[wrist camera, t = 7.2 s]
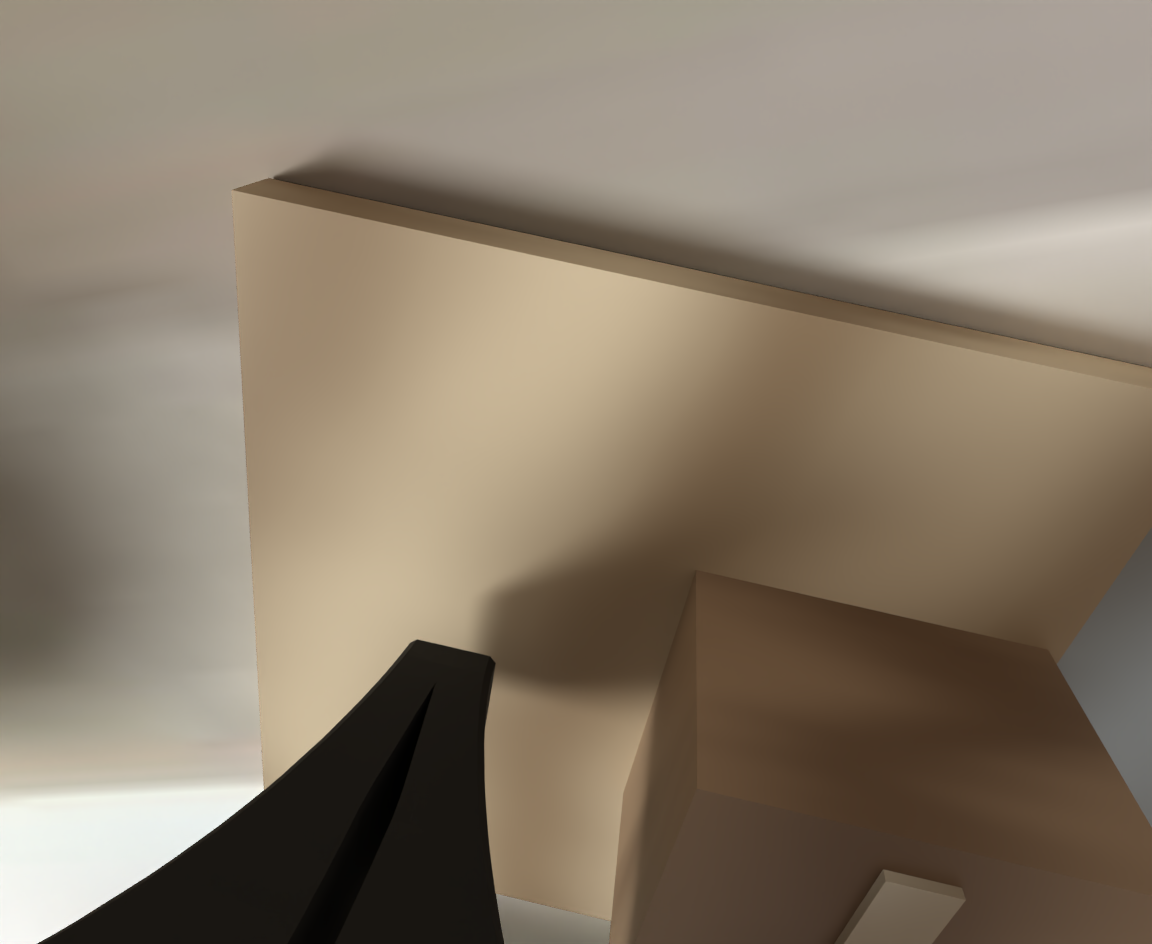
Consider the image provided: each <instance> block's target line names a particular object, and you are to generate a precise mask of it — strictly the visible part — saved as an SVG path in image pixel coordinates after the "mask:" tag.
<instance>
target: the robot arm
mask: <svg viewBox="0 0 1152 944" xmlns="http://www.w3.org/2000/svg"><path fill="white" fill-rule="evenodd" d="M495 665H496V663H495V661H494V660H493V659H492V658H491V657H490V656H488V655H483V654H479V653H475V652H470V651H466V650H462V649H457V648H453V647H449V646H444V645H440V644H436V643H431V642H427V641H423V640H418V639H417V640H415V641H413V642H411V643H409V645H408V646H407V647H406V649H405V650H404V651H403V652H402V654H401V655H400V656H399V657H398V659H397V660H396V661H395V662H394V663H393V665H392V666H391V667H390V668H389V669H388V670H387V672H386V673H385V674H384V675H383V676H382V677H381V678H380V680H379V681H378V682H377V683H376V684H375V685H374V686H373V687H372V688H371V689H370V690H369V692H368V693H367V694H366V695H365V696H364V697H363V698H362V699H361V700H360V701H359V702H358V703H357V704H356V705H355V706H354V707H353V708H352V709H351V710H350V711H349V712H348V713H347V714H346V715H345V716H344V717H343V718H342V719H341V720H340V721H339V722H338V723H337V724H336V725H335V726H334V727H333V728H332V729H331V730H330V731H329V732H328V733H327V734H326V735H325V736H324V737H323V738H322V739H321V740H320V741H319V742H318V743H317V744H316V745H315V746H313V747H312V748H311V749H310V750H309V751H308V752H307V753H306V754H305V755H304V756H302V757H301V758H300V759H299V760H298V761H297V762H296V763H295V764H294V765H292V766H291V767H290V768H289V769H288V770H287V771H286V772H285V773H284V774H283V775H281V776H280V777H279V778H278V779H277V780H276V781H274V782H273V783H272V784H271V785H270V786H268V787H267V788H266V789H265V790H264V791H262V792H261V793H260V794H259V795H258V796H256V797H255V798H254V799H253V800H251V801H250V802H249V803H248V804H246V805H245V806H244V807H243V808H241V809H240V810H239V811H238V812H236V813H235V814H234V815H232V816H231V817H230V818H229V819H227V820H226V821H225V822H223V823H222V824H221V825H220V826H218V827H217V828H215V829H214V830H213V831H211V832H210V833H209V834H207V835H206V836H204V837H203V838H202V839H200V840H199V841H198V842H196V843H195V844H193V845H192V846H191V847H189V848H188V849H186V850H185V851H184V852H182V853H181V854H180V855H178V856H177V857H175V858H174V859H172V860H171V861H170V862H168V863H167V864H165V865H164V866H162V867H161V868H159V869H158V870H156V871H155V872H153V873H152V874H150V875H149V876H147V877H146V878H144V879H143V880H141V881H140V882H138V883H136V884H135V885H133V886H132V887H130V888H128V889H127V890H125V891H124V892H122V893H120V894H119V895H117V896H116V897H114V898H113V899H111V900H109V901H108V902H106V903H105V904H103V905H101V906H100V907H98V908H97V909H95V910H93V911H92V912H90V913H89V914H87V915H86V916H84V917H82V918H81V919H79V920H78V921H76V922H74V923H73V924H71V925H69V926H67V927H66V928H64V929H62V930H61V931H59V932H57V933H56V934H54V935H52V936H50V937H48V938H47V939H45V940H43V941H41V942H39V943H38V944H504V940H503V935H502V930H501V924H500V918H499V912H498V905H497V899H496V893H495V886H494V878H493V871H492V864H491V855H490V846H489V836H488V825H487V811H486V797H485V758H484V739H485V726H486V719H487V713H488V707H489V701H490V695H491V689H492V683H493V677H494V671H495Z"/></svg>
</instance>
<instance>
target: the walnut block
mask: <svg viewBox="0 0 1152 944" xmlns="http://www.w3.org/2000/svg"><path fill="white" fill-rule="evenodd" d="M609 944H1152V827H1151V825H1150V824H1149V822H1148V820H1147V819H1146V817H1145V815H1144V813H1143V812H1142V810H1141V808H1140V807H1139V805H1138V803H1137V801H1136V800H1135V798H1134V796H1133V795H1132V793H1131V791H1130V789H1129V788H1128V786H1127V784H1126V783H1125V781H1124V779H1123V777H1122V776H1121V774H1120V772H1119V771H1118V769H1117V767H1116V765H1115V764H1114V762H1113V760H1112V759H1111V757H1110V755H1109V753H1108V752H1107V750H1106V748H1105V747H1104V745H1103V743H1102V741H1101V740H1100V738H1099V736H1098V735H1097V733H1096V731H1095V729H1094V728H1093V726H1092V724H1091V723H1090V721H1089V719H1088V717H1087V716H1086V714H1085V712H1084V711H1083V709H1082V707H1081V705H1080V704H1079V702H1078V700H1077V699H1076V697H1075V695H1074V693H1073V692H1072V690H1071V688H1070V687H1069V685H1068V683H1067V681H1066V680H1065V678H1064V676H1063V675H1062V673H1061V671H1060V669H1059V668H1058V666H1057V664H1056V662H1055V661H1054V659H1053V657H1052V656H1051V654H1050V652H1049V650H1047V649H1043V648H1038V647H1034V646H1029V645H1025V644H1021V643H1016V642H1012V641H1007V640H1003V639H999V638H994V637H990V636H985V635H981V634H977V633H972V632H968V631H963V630H959V629H955V628H950V627H946V626H941V625H937V624H932V623H928V622H924V621H919V620H915V619H910V618H906V617H902V616H897V615H893V614H888V613H884V612H880V611H875V610H871V609H866V608H862V607H858V606H853V605H849V604H844V603H840V602H836V601H831V600H827V599H822V598H818V597H813V596H809V595H805V594H800V593H796V592H791V591H787V590H783V589H778V588H774V587H769V586H765V585H761V584H756V583H752V582H747V581H743V580H739V579H734V578H730V577H725V576H721V575H716V574H712V573H708V572H703V571H699V570H696V572H695V575H694V578H693V581H692V584H691V587H690V590H689V593H688V596H687V600H686V603H685V606H684V609H683V612H682V615H681V618H680V621H679V624H678V627H677V630H676V633H675V636H674V639H673V642H672V645H671V648H670V652H669V655H668V658H667V661H666V664H665V667H664V670H663V673H662V676H661V679H660V682H659V685H658V688H657V691H656V694H655V697H654V700H653V704H652V707H651V710H650V713H649V716H648V719H647V722H646V725H645V728H644V731H643V734H642V737H641V740H640V743H639V746H638V749H637V753H636V756H635V759H634V762H633V765H632V768H631V771H630V774H629V777H628V780H627V783H626V786H625V789H624V792H623V801H622V811H621V822H620V832H619V843H618V853H617V864H616V875H615V885H614V896H613V906H612V917H611V927H610V938H609Z"/></svg>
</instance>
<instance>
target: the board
mask: <svg viewBox="0 0 1152 944" xmlns="http://www.w3.org/2000/svg"><path fill="white" fill-rule="evenodd" d="M232 208H233V226H234V245H235V263H236V282H237V300H238V319H239V337H240V356H241V374H242V393H243V411H244V430H245V448H246V467H247V485H248V504H249V522H250V541H251V559H252V578H253V596H254V615H255V633H256V652H257V670H258V689H259V707H260V726H261V744H262V763H263V781H264V790H265V789H266V788H267V787H268V786H270V785H271V784H272V783H273V782H274V781H276V780H277V779H278V778H279V777H280V776H281V775H283V774H284V773H285V772H286V771H287V770H288V769H289V768H290V767H291V766H292V765H294V764H295V763H296V762H297V761H298V760H299V759H300V758H301V757H302V756H304V755H305V754H306V753H307V752H308V751H309V750H310V749H311V748H312V747H313V746H315V745H316V744H317V743H318V742H319V741H320V740H321V739H322V738H323V737H324V736H325V735H326V734H327V733H328V732H329V731H330V730H331V729H332V728H333V727H334V726H335V725H336V724H337V723H338V722H339V721H340V720H341V719H342V718H343V717H344V716H345V715H346V714H347V713H348V712H349V711H350V710H351V709H352V708H353V707H354V706H355V705H356V704H357V703H358V702H359V701H360V700H361V699H362V698H363V697H364V696H365V695H366V694H367V693H368V692H369V690H370V689H371V688H372V687H373V686H374V685H375V684H376V683H377V682H378V681H379V680H380V678H381V677H382V676H383V675H384V674H385V673H386V672H387V670H388V669H389V668H390V667H391V666H392V665H393V663H394V662H395V661H396V660H397V659H398V657H399V656H400V655H401V654H402V652H403V651H404V650H405V649H406V647H407V646H408V645H409V643H411V642H413V641H415V640H417V639H418V640H423V641H427V642H431V643H436V644H440V645H444V646H449V647H453V648H457V649H462V650H466V651H470V652H475V653H479V654H483V655H488V656H490V657H491V658H492V659H493V660H494V661H495V663H496V665H495V671H494V677H493V683H492V689H491V695H490V701H489V707H488V713H487V719H486V726H485V739H484V758H485V797H486V811H487V825H488V836H489V846H490V855H491V864H492V871H493V878H494V886H495V893H496V894H500V895H504V896H509V897H513V898H517V899H521V900H525V901H529V902H533V903H538V904H542V905H546V906H550V907H554V908H558V909H562V910H567V911H571V912H575V913H579V914H583V915H587V916H591V917H596V918H600V919H604V920H608V921H611V917H612V906H613V896H614V885H615V875H616V864H617V853H618V843H619V832H620V822H621V811H622V801H623V792H624V789H625V786H626V783H627V780H628V777H629V774H630V771H631V768H632V765H633V762H634V759H635V756H636V753H637V749H638V746H639V743H640V740H641V737H642V734H643V731H644V728H645V725H646V722H647V719H648V716H649V713H650V710H651V707H652V704H653V700H654V697H655V694H656V691H657V688H658V685H659V682H660V679H661V676H662V673H663V670H664V667H665V664H666V661H667V658H668V655H669V652H670V648H671V645H672V642H673V639H674V636H675V633H676V630H677V627H678V624H679V621H680V618H681V615H682V612H683V609H684V606H685V603H686V600H687V596H688V593H689V590H690V587H691V584H692V581H693V578H694V575H695V572H696V570H699V571H703V572H708V573H712V574H716V575H721V576H725V577H730V578H734V579H739V580H743V581H747V582H752V583H756V584H761V585H765V586H769V587H774V588H778V589H783V590H787V591H791V592H796V593H800V594H805V595H809V596H813V597H818V598H822V599H827V600H831V601H836V602H840V603H844V604H849V605H853V606H858V607H862V608H866V609H871V610H875V611H880V612H884V613H888V614H893V615H897V616H902V617H906V618H910V619H915V620H919V621H924V622H928V623H932V624H937V625H941V626H946V627H950V628H955V629H959V630H963V631H968V632H972V633H977V634H981V635H985V636H990V637H994V638H999V639H1003V640H1007V641H1012V642H1016V643H1021V644H1025V645H1029V646H1034V647H1038V648H1043V649H1047V650H1049V652H1050V654H1051V656H1052V657H1053V659H1054V661H1055V662H1056V664H1057V666H1058V668H1059V669H1060V671H1061V673H1062V675H1063V676H1064V678H1065V680H1066V681H1067V683H1068V685H1069V687H1070V688H1071V690H1072V692H1073V693H1074V695H1075V697H1076V699H1077V700H1078V702H1079V704H1080V705H1081V707H1082V709H1083V711H1084V712H1085V714H1086V716H1087V717H1088V719H1089V721H1090V723H1091V724H1092V726H1093V728H1094V729H1095V731H1096V733H1097V735H1098V736H1099V738H1100V740H1101V741H1102V743H1103V745H1104V747H1105V748H1106V750H1107V752H1108V753H1109V755H1110V757H1111V759H1112V760H1113V762H1114V764H1115V765H1116V767H1117V769H1118V771H1119V772H1120V774H1121V776H1122V777H1123V779H1124V781H1125V783H1126V784H1127V786H1128V788H1129V789H1130V791H1131V793H1132V795H1133V796H1134V798H1135V800H1136V801H1137V803H1138V805H1139V807H1140V808H1141V810H1142V812H1143V813H1144V815H1145V817H1146V819H1147V820H1148V822H1149V824H1150V825H1151V827H1152V368H1149V367H1144V366H1139V365H1135V364H1130V363H1126V362H1121V361H1116V360H1112V359H1107V358H1102V357H1098V356H1093V355H1088V354H1084V353H1079V352H1074V351H1070V350H1065V349H1060V348H1056V347H1051V346H1047V345H1042V344H1037V343H1033V342H1028V341H1023V340H1019V339H1014V338H1009V337H1005V336H1000V335H995V334H991V333H986V332H981V331H977V330H972V329H968V328H963V327H958V326H954V325H949V324H944V323H940V322H935V321H930V320H926V319H921V318H916V317H912V316H907V315H902V314H898V313H893V312H889V311H884V310H879V309H875V308H870V307H865V306H861V305H856V304H851V303H847V302H842V301H837V300H833V299H828V298H823V297H819V296H814V295H810V294H805V293H800V292H796V291H791V290H786V289H782V288H777V287H772V286H768V285H763V284H758V283H754V282H749V281H745V280H740V279H735V278H731V277H726V276H721V275H717V274H712V273H707V272H703V271H698V270H693V269H689V268H684V267H679V266H675V265H670V264H666V263H661V262H656V261H652V260H647V259H642V258H638V257H633V256H628V255H624V254H619V253H614V252H610V251H605V250H600V249H596V248H591V247H587V246H582V245H577V244H573V243H568V242H563V241H559V240H554V239H549V238H545V237H540V236H535V235H531V234H526V233H521V232H517V231H512V230H508V229H503V228H498V227H494V226H489V225H484V224H480V223H475V222H470V221H466V220H461V219H456V218H452V217H447V216H442V215H438V214H433V213H429V212H424V211H419V210H415V209H410V208H405V207H401V206H396V205H391V204H387V203H382V202H377V201H373V200H368V199H363V198H359V197H354V196H350V195H345V194H340V193H336V192H331V191H326V190H322V189H317V188H312V187H308V186H303V185H298V184H294V183H289V182H285V181H280V180H275V179H271V178H268V179H265V180H262V181H258V182H255V183H252V184H249V185H246V186H243V187H239V188H236V189H233V190H232Z"/></svg>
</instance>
